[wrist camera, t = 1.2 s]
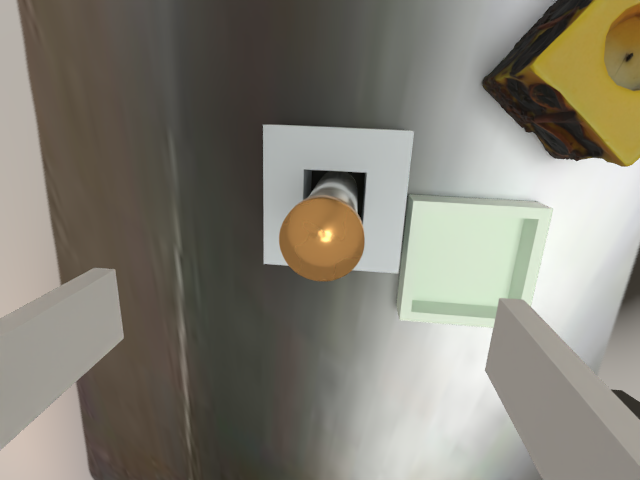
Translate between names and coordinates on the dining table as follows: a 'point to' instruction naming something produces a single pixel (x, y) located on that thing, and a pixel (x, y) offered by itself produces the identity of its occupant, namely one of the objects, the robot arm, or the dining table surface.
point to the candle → (577, 80)
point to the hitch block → (339, 155)
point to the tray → (468, 257)
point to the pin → (324, 230)
